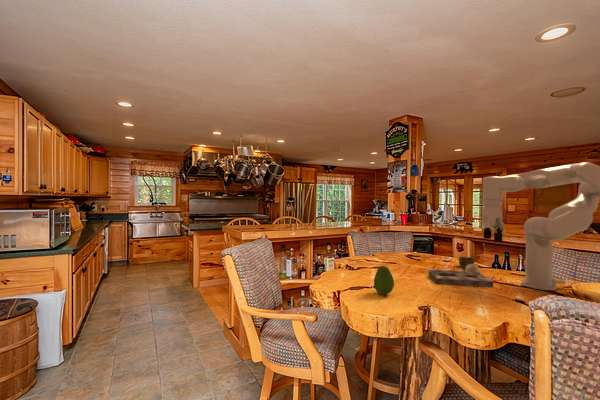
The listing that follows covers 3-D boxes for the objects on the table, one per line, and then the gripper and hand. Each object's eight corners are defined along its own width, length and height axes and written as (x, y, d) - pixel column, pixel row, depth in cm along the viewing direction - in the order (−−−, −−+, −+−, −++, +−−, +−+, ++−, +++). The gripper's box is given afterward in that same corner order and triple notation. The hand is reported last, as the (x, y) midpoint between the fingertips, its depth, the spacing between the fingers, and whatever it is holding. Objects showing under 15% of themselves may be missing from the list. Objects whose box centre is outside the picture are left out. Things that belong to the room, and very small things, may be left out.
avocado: (373, 296, 117) (373, 267, 117) (373, 290, 124) (374, 262, 124) (394, 298, 115) (394, 268, 115) (393, 292, 122) (393, 264, 122)
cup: (477, 274, 152) (477, 259, 152) (463, 274, 152) (463, 259, 152) (469, 270, 160) (469, 256, 159) (455, 270, 160) (456, 256, 160)
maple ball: (476, 275, 141) (476, 262, 141) (482, 278, 135) (482, 265, 135) (463, 274, 142) (463, 262, 142) (468, 277, 136) (468, 265, 136)
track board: (479, 278, 145) (479, 271, 145) (493, 287, 131) (493, 279, 131) (428, 275, 149) (428, 269, 149) (436, 283, 135) (436, 276, 135)
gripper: (475, 202, 143) (475, 237, 144) (492, 203, 126) (493, 242, 127) (492, 202, 142) (492, 237, 142) (511, 203, 125) (512, 243, 125)
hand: (492, 240), depth 134 cm, fingers open, 9 cm apart
